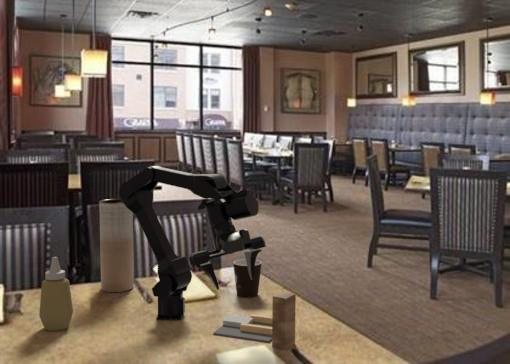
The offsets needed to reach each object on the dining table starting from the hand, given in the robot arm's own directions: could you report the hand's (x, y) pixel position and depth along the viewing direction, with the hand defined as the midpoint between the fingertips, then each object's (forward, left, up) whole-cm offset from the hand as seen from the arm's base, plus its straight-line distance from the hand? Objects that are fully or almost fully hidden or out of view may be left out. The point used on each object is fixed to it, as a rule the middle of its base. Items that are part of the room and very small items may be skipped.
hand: (235, 284), depth 139 cm
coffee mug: (+2, +31, -12) cm, 33 cm away
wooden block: (+12, -10, -11) cm, 19 cm away
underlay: (+4, 0, -11) cm, 12 cm away
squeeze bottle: (-45, -1, -12) cm, 47 cm away
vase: (-39, +34, -12) cm, 53 cm away
